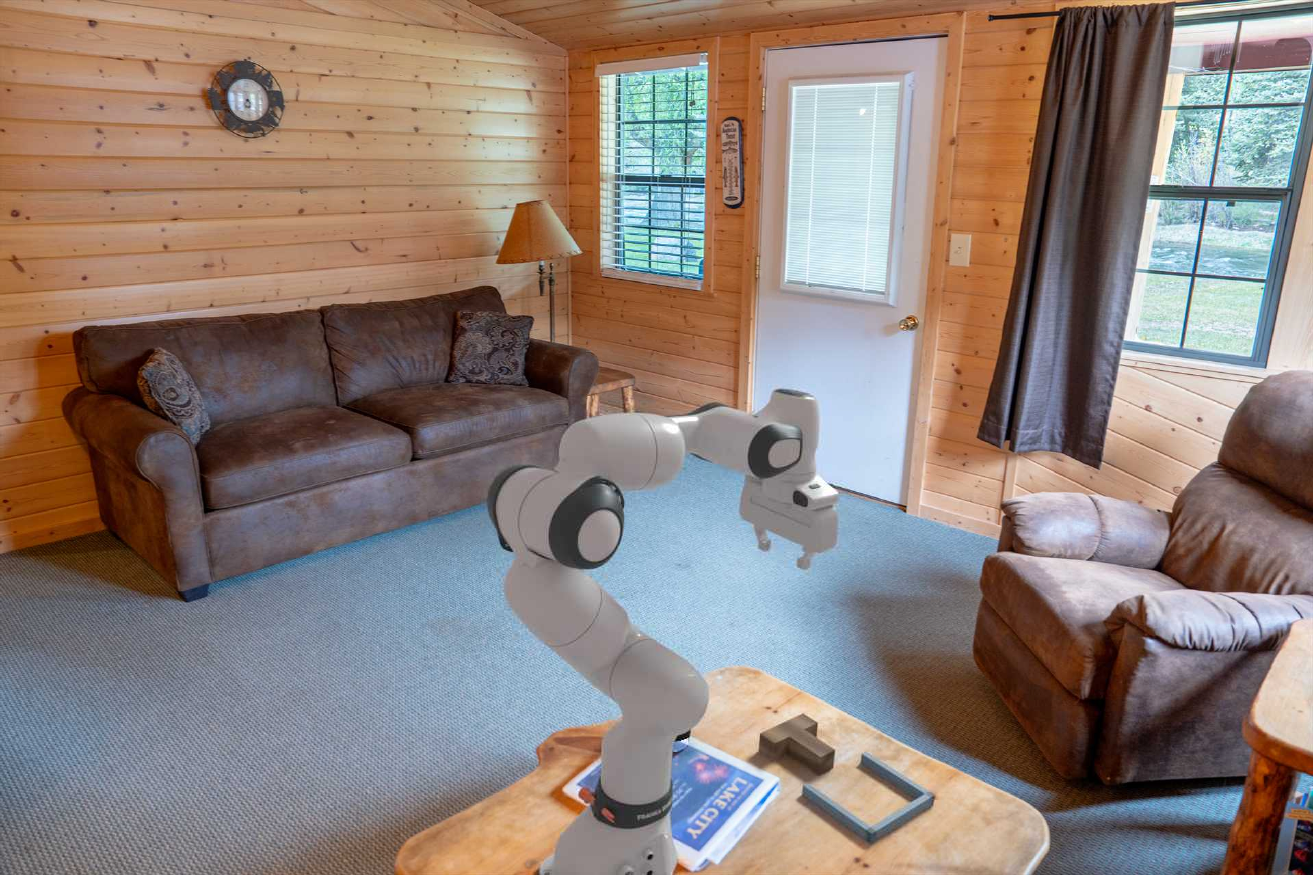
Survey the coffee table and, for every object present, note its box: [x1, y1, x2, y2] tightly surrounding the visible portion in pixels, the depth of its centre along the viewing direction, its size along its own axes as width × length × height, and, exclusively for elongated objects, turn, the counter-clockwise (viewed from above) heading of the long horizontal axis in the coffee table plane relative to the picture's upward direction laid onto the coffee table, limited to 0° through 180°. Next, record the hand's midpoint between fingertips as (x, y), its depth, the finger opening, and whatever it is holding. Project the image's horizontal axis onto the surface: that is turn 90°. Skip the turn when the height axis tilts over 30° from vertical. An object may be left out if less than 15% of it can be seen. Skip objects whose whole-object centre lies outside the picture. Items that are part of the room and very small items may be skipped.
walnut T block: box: [758, 713, 836, 776], centre depth 177 cm, size 12×12×4 cm
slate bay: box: [801, 751, 936, 845], centre depth 166 cm, size 17×16×2 cm
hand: (783, 558), depth 160 cm, fingers open, 8 cm apart
